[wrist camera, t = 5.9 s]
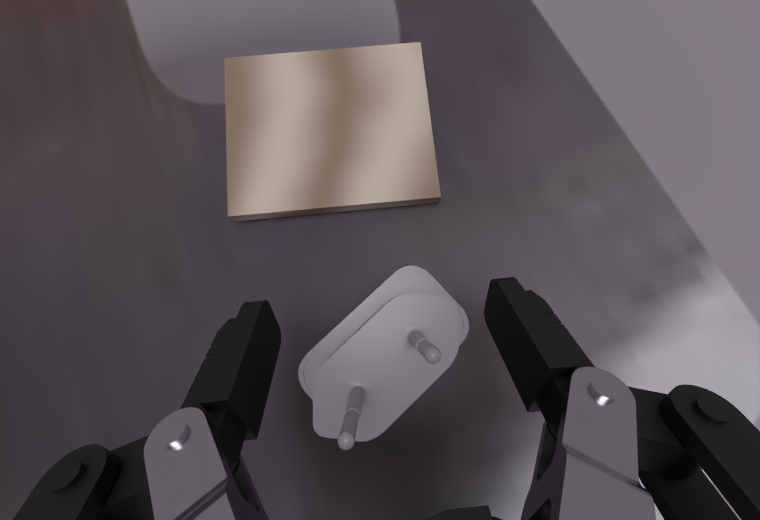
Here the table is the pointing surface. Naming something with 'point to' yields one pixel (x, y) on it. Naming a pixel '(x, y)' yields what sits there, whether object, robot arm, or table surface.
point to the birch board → (328, 132)
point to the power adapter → (382, 357)
